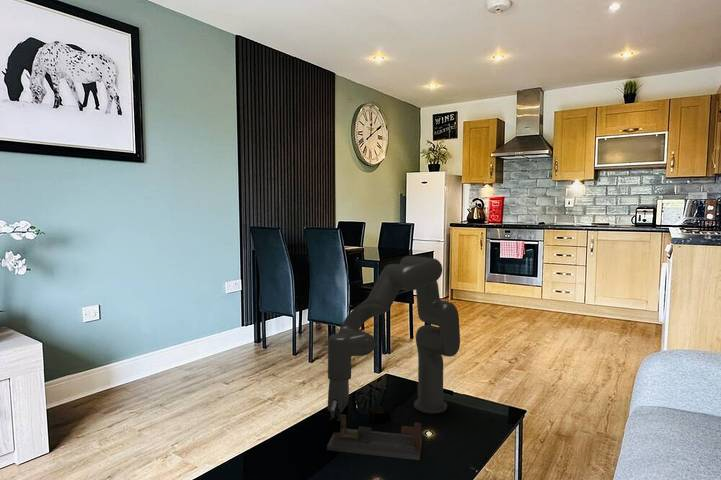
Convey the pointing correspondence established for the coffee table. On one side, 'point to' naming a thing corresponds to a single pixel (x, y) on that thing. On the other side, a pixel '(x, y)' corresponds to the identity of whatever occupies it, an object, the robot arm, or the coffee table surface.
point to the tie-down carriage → (350, 431)
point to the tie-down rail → (383, 443)
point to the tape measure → (379, 414)
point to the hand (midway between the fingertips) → (339, 424)
